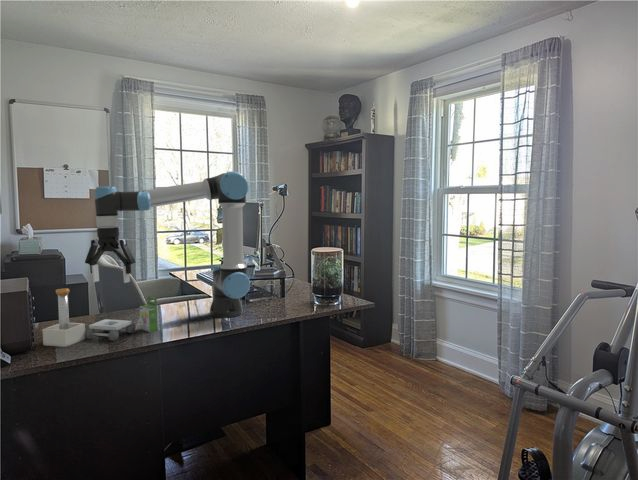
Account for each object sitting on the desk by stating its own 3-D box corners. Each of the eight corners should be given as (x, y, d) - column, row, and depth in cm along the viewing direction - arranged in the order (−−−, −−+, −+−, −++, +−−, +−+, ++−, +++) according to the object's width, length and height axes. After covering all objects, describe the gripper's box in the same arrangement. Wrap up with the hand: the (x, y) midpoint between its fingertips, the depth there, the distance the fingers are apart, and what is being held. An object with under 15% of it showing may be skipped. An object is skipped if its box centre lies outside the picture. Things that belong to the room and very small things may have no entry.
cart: (135, 331, 176) (135, 319, 176) (112, 342, 163) (112, 328, 162) (109, 329, 179) (108, 317, 178) (84, 340, 165) (84, 327, 165)
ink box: (140, 329, 179) (139, 297, 178) (149, 327, 182) (148, 295, 181) (149, 332, 175) (147, 299, 174) (158, 330, 178) (157, 297, 177)
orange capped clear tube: (74, 339, 164) (72, 288, 163) (65, 342, 160) (63, 290, 159) (64, 338, 165) (62, 288, 164) (55, 341, 161) (52, 290, 160)
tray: (85, 339, 167) (84, 323, 166) (66, 347, 157) (65, 330, 157) (63, 337, 169) (63, 322, 168) (43, 345, 159) (42, 329, 159)
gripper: (142, 226, 169) (145, 280, 171) (86, 226, 174) (90, 279, 176) (130, 227, 162) (134, 284, 163) (72, 228, 167) (76, 283, 169)
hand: (111, 281), depth 170 cm, fingers open, 13 cm apart
